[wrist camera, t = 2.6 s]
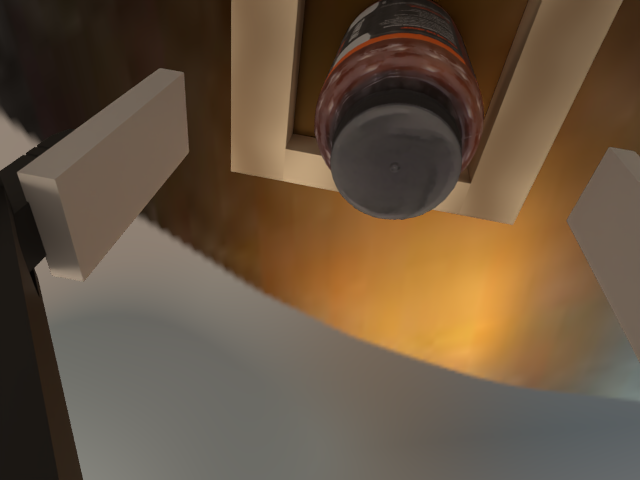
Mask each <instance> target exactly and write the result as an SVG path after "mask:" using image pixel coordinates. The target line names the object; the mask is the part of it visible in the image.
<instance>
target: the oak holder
mask: <svg viewBox="0 0 640 480" xmlns="http://www.w3.org/2000/svg"><path fill="white" fill-rule="evenodd" d="M622 1H623V0H528V3H527V6H526V8H525V11H524V14H523V16H522V19H521V22H520V24H519V27H518V30H517V33H516V35H515V38H514V41H513V43H512V46H511V49H510V51H509V54H508V57H507V59H506V62H505V65H504V67H503V70H502V73H501V76H500V78H499V81H498V84H497V86H496V89H495V92H494V94H493V97H492V100H491V102H490V105H489V108H488V110H487V113H486V116H485V119H484V122H483V131H482V136H481V140H480V143H479V145H478V148H477V150H476V152H475V154H474V156H473V158H472V159H471V161H470V163H469V164H468V165H467V167H466V168H465V169H464V171H463V172H461V173H460V176H459V179H458V182H457V184H456V185H455V188H454V189H453V190H452V192H451V193H450V194H449V195H448V197H447V198H446V199H445V200H444V201H443V202H442V203H440V204H439V205H438V206H437V207H435V208H434V209H432V210H438V211H443V212H448V213H453V214H459V215H464V216H469V217H474V218H480V219H485V220H490V221H495V222H500V223H506V224H511V225H513V224H514V222H515V220H516V217H517V215H518V213H519V211H520V209H521V207H522V205H523V203H524V201H525V199H526V197H527V195H528V193H529V191H530V189H531V187H532V185H533V183H534V181H535V179H536V177H537V175H538V173H539V171H540V168H541V166H542V164H543V162H544V160H545V158H546V156H547V154H548V152H549V150H550V148H551V146H552V144H553V142H554V140H555V138H556V136H557V134H558V132H559V130H560V128H561V126H562V124H563V122H564V119H565V117H566V115H567V113H568V111H569V109H570V107H571V105H572V103H573V101H574V99H575V97H576V95H577V93H578V91H579V89H580V87H581V85H582V83H583V81H584V79H585V77H586V75H587V73H588V71H589V68H590V66H591V64H592V62H593V60H594V58H595V56H596V54H597V52H598V50H599V48H600V46H601V44H602V42H603V40H604V38H605V36H606V34H607V32H608V30H609V28H610V26H611V24H612V22H613V19H614V17H615V15H616V13H617V11H618V9H619V7H620V5H621V3H622ZM304 10H305V0H231V171H233V172H238V173H244V174H249V175H254V176H259V177H265V178H270V179H275V180H280V181H286V182H291V183H296V184H301V185H307V186H312V187H317V188H322V189H328V190H333V191H338V189H337V187H336V185H335V182H334V180H333V177H332V173H331V170H330V169H329V168H328V166H327V165H326V163H325V161H324V159H323V158H322V155H321V153H320V150H319V147H318V144H317V140H316V138H314V137H309V136H303V135H298V134H293V127H294V117H295V106H296V96H297V85H298V74H299V64H300V53H301V42H302V32H303V21H304ZM338 192H339V191H338Z"/></svg>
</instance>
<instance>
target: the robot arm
mask: <svg viewBox="0 0 640 480" xmlns="http://www.w3.org/2000/svg"><path fill="white" fill-rule="evenodd" d="M188 153H189V146H188V131H187V115H186V99H185V84H184V72H179V71H173V70H167V69H162V68H159V69H158V70H157V71H155V72H154V73H152V74H151V75H150V76H148V77H147V78H146V79H144V80H143V81H141V82H140V83H139V84H137V85H136V86H135V87H133V88H132V89H131V90H129V91H128V92H126V93H125V94H124V95H122V96H121V97H120V98H118V99H117V100H115V101H114V102H113V103H111V104H110V105H109V106H107V107H106V108H104V109H103V110H102V111H100V112H99V113H98V114H96V115H95V116H93V117H92V118H91V119H89V120H88V121H87V122H85V123H84V124H82V125H81V126H80V127H78V128H77V129H76V130H74V129H68V130H66V131H63V132H60V133H57V134H54V135H52V136H50V137H48V138H47V139H45V140H44V141H43V142H41V143H40V144H38V145H37V147H34V148H33V149H31V150H30V151H28V152H27V153H26V155H23V156H21V157H20V158H18V159H17V160H15V161H14V162H13V163H11V164H10V165H8V166H7V167H5V168H4V169H2V170H1V171H0V480H83V478H82V473H81V469H80V464H79V459H78V455H77V450H76V446H75V442H74V437H73V433H72V429H71V424H70V419H69V415H68V410H67V406H66V401H65V397H64V392H63V388H62V384H61V379H60V375H59V370H58V366H57V361H56V357H55V352H54V348H53V343H52V339H51V334H50V330H49V325H48V321H47V316H46V312H45V307H44V303H43V299H42V294H41V290H40V285H39V281H38V277H37V274H36V272H35V269H34V268H35V266H36V265H37V264H38V263H39V262H40V261H41V260H42V259H43V258H44V257H46V260H47V262H48V266H49V269H50V272H51V274H52V276H57V277H62V278H67V279H73V280H78V281H83V282H84V281H85V280H86V278H87V277H88V276H89V275H90V273H91V272H92V271H93V270H94V269H95V267H96V266H97V265H98V264H99V262H100V261H101V260H102V259H103V257H104V256H105V255H106V254H107V253H108V251H109V250H110V249H111V248H112V246H113V245H114V244H115V243H116V241H117V240H118V239H119V238H120V236H121V235H122V234H123V233H124V232H125V230H126V229H127V228H128V227H129V225H130V224H131V223H132V222H133V220H134V219H135V218H136V217H137V216H138V214H139V213H140V212H141V211H142V209H143V208H144V207H145V206H146V204H147V203H148V202H149V201H150V200H151V198H152V197H153V196H154V195H155V193H156V192H157V191H158V190H159V188H160V187H161V186H162V185H163V184H164V182H165V181H166V180H167V179H168V177H169V176H170V175H171V174H172V172H173V171H174V170H175V169H176V168H177V166H178V165H179V164H180V163H181V161H182V160H183V159H184V158H185V156H186V155H187V154H188ZM567 222H568V224H569V226H570V228H571V230H572V232H573V234H574V236H575V238H576V240H577V242H578V244H579V246H580V248H581V250H582V251H583V253H584V255H585V257H586V259H587V261H588V263H589V265H590V267H591V269H592V271H593V273H594V275H595V277H596V279H597V281H598V283H599V284H600V286H601V288H602V290H603V292H604V294H605V296H606V298H607V300H608V302H609V304H610V306H611V308H612V310H613V312H614V314H615V315H616V317H617V319H618V321H619V323H620V325H621V327H622V329H623V331H624V333H625V335H626V337H627V339H628V341H629V343H630V345H631V347H632V348H633V350H634V352H635V354H636V356H637V358H638V360H639V362H640V156H639V155H638V154H637V153H636V152H635V151H630V150H624V149H619V148H613V147H609V148H608V150H607V151H606V153H605V155H604V157H603V158H602V160H601V162H600V164H599V165H598V167H597V169H596V170H595V172H594V174H593V176H592V177H591V179H590V181H589V183H588V184H587V186H586V188H585V189H584V191H583V193H582V195H581V196H580V198H579V200H578V202H577V203H576V205H575V207H574V208H573V210H572V212H571V214H570V215H569V217H568V219H567Z"/></svg>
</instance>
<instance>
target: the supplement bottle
mask: <svg viewBox="0 0 640 480" xmlns="http://www.w3.org/2000/svg"><path fill="white" fill-rule="evenodd" d="M483 122H484V107H483V101H482V95H481V92H480V89H479V85H478V82H477V80H476V77H475V74H474V71H473V68H472V65H471V62H470V60H469V57H468V54H467V51H466V48H465V46H464V42H463V40H462V37H461V35H460V33H459V31H458V29H457V27H456V25H455V23H454V21H453V20H452V18H451V17H450V15H449V14H448V13H447V12H446V11H445V10H444V9H443V8H442V7H441V6H439V5H438V4H436V3H435V2H433V1H431V0H379V1H377V2H375V3H373V4H372V5H370V6H369V7H367V8H366V9H365V10H364V11H363V12H361V13H360V14H359V15H358V17H357V18H356V19H355V20H354V21H353V23H352V24H351V26H350V27H349V28H348V30H347V32H346V34H345V36H344V38H343V40H342V43H341V45H340V47H339V50H338V52H337V54H336V57H335V60H334V62H333V64H332V66H331V69H330V71H329V73H328V75H327V77H326V80H325V82H324V85H323V87H322V90H321V92H320V95H319V98H318V102H317V106H316V114H315V129H314V132H315V136H316V140H317V144H318V147H319V150H320V153H321V155H322V158H323V159H324V161H325V163H326V165H327V166H328V168H329V169H330V170H331V173H332V177H333V180H334V182H335V185H336V187H337V189H338V191H339V192H340V194H341V195H342V196H343V197H344V198H345V199H346V200H347V201H348V202H349V203H350V204H351V205H353V206H354V208H356V209H358V210H359V211H361V212H363V213H365V214H368V215H370V216H373V217H376V218H382V219H394V220H396V219H400V220H403V219H407V218H412V217H416V216H420V215H423V214H424V213H426V212H428V211H430V210H432V209H434V208H435V207H437V206H438V205H439V204H440V203H442V202H443V201H444V200H445V199H446V198H447V197H448V195H449V194H450V193H451V192H452V190H453V189H454V188H455V185H456V184H457V182H458V179H459V176H460V173H461V172H463V171H464V169H465V168H466V167H467V165H468V164H469V163H470V161H471V159H472V158H473V156H474V154H475V152H476V150H477V148H478V145H479V143H480V140H481V136H482V131H483Z"/></svg>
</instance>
